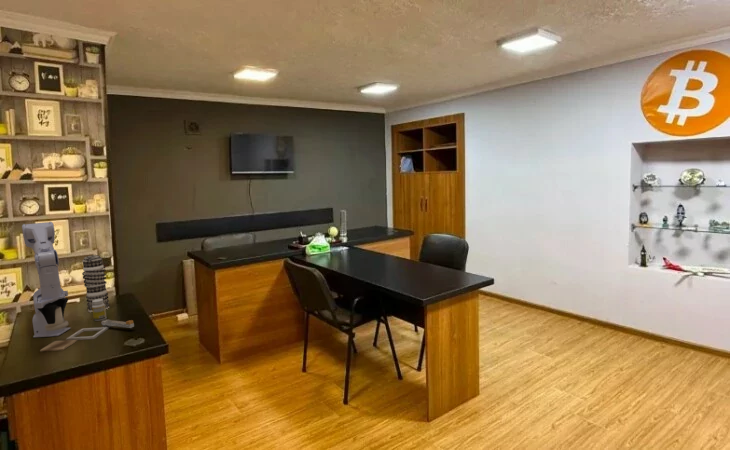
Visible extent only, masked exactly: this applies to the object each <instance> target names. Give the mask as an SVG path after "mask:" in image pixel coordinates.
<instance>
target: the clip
mask: <svg viewBox="0 0 730 450" xmlns="http://www.w3.org/2000/svg"><path fill="white" fill-rule="evenodd" d="M100 321H101V323H100V324H101V326H103V325H110V326H111V327H119V328H127V329H133V328H134V327H135V323H134V320H132V319H131V320H129V319H128V320H127V321H122V320H121V321H120V320H111V319H109V318H108V319H107V318H106V319H104V320H100Z"/></svg>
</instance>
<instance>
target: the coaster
mask: <svg viewBox="0 0 730 450" xmlns="http://www.w3.org/2000/svg"><path fill="white" fill-rule="evenodd" d="M77 342H78V340H66V339H65V340H54V341H52V342H51V343H49V344H48V345H46V346H44V347H42V348H41V349H40V350H39V352H53V351H54V352H55V351H57V352H58V351H64V350H66V349H68V348H69V347H71V346H72V345H74V344H75V343H77Z"/></svg>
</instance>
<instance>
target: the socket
mask: <svg viewBox="0 0 730 450" xmlns="http://www.w3.org/2000/svg"><path fill="white" fill-rule="evenodd" d="M108 330H109V329H108V327H103V326H101V327H87V328H86V327H85V328H81V329H79V330H77V331H76V332H75V333H73V334H71V335H69V336H67V337H66V338H65V340H77V341H81V340H83V341H84V340H95V339H96V338H97V337H99V336H100V335H102V334H104V332H106V331H108ZM95 331H97V332H96V333H95V334H94V335H89V336H79V335H81V333H83V332H95Z"/></svg>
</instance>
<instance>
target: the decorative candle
mask: <svg viewBox="0 0 730 450" xmlns="http://www.w3.org/2000/svg"><path fill="white" fill-rule="evenodd" d="M81 262H82V265H83V266H82V269H83V272H82V273H81V274H82V279H84V280H83V283H84V284H83V287H85V288H86V296H85V298H86V302H87V304H86V306H87V312H88V313H91V312H93V311H92V306H93V304H92V301H93V300H96V299H103V302H104V304H105V309H107V310H109V309H110V300H109V296H108V295H109V293H108V292H107V287H106V284H107V281H106V279H107V277H106V276H107V274H106V273H104V272H106V271H107V270H106V269H105V268H106V266H104V264H103V262H104V261H103V257H102V256H100V255H97V254H92V255H87V256H84V257H83V259H82V260H81ZM108 308H109V309H108Z"/></svg>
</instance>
